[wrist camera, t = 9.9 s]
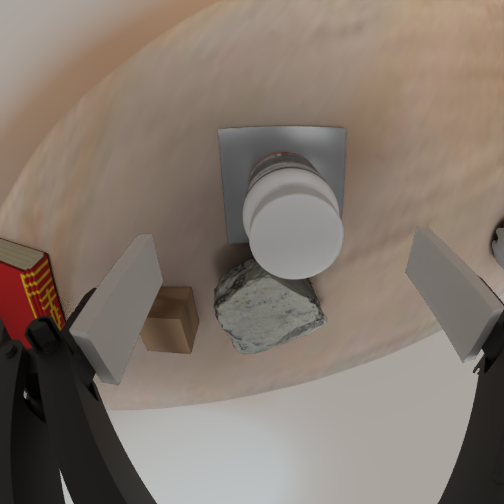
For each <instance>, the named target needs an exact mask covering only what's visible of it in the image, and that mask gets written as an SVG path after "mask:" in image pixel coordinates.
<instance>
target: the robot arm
mask: <svg viewBox="0 0 504 504" xmlns="http://www.w3.org/2000/svg"><path fill="white" fill-rule="evenodd" d="M405 273H406V274H407V275H408V277H409V278H410V279H411V281H412V282H413V284H414V285H415V287H416V288H417V289H418V291H419V292H420V294H421V295H422V297H423V298H424V300H425V301H426V303H427V304H428V306H429V307H430V309H431V310H432V312H433V314H434V315H435V317H436V318H437V320H438V321H439V323H440V325H441V326H442V328H443V330H444V331H445V333H446V335H447V336H448V338H449V340H450V341H451V343H452V345H453V347H454V348H455V350H456V352H457V354H458V355H459V357H460V359H461V361H462V362H463V363H464V362H467V361H470V360H473V359H475V358H476V356H477V355H478V353H479V352H480V350H481V349H482V350H483V351H484V353H485V354H484V355H483V357H482V358H481V360H480V361H479V363H478V364H477V365H476V367H475V368H474V370H473V373H475V372H476V370H477V369H478V368H480V370H479V372H478V373H477V374H478V375H479V377H478V383H477V389H476V394H475V399H474V403H473V408H472V412H471V416H470V420H469V424H468V427H467V431H466V434H465V438H464V441H463V444H462V447H461V450H460V453H459V456H458V459H457V462H456V464H455V467H454V469H453V472H452V474H451V477H450V479H449V481H448V484H447V486H446V488H445V490H444V493H443V495H442V497H441V499H440V501H439V503H438V504H504V304H503V302H502V301H501V300H500V299H499V298H498V296H497V295H496V294H495V293H494V292H492V291H493V290H492V289H491V288H490V287H489V286H488V285H487V284H486V283H485V281H484V280H483V279H482V278H481V277H479V276H478V275H476V274H475V272H474V271H473V270H472V269H471V268H470V267H469V266H468V265H467V264H466V263H465V262H464V261H463V260H462V259H461V258H460V257H459V256H458V255H457V254H456V253H455V252H454V251H453V250H452V249H451V248H450V247H449V246H448V245H447V244H446V243H445V242H444V241H443V240H442V239H440V238H439V237H438V236H437V235H436V234H435V233H434V232H433V231H432V230H431V229H429V228H428V227H416V230H415V235H414V239H413V244H412V248H411V252H410V256H409V260H408V264H407V268H406V272H405ZM162 283H163V279H162V275H161V271H160V267H159V263H158V259H157V255H156V251H155V246H154V242H153V237H152V234H144V235H137V237H136V238H135V239H134V240H133V242H132V243H131V244H130V245H129V247H128V248H127V249H126V250H125V252H124V253H123V254H122V255H121V257H120V258H119V259H118V261H117V262H116V263H115V265H114V266H113V267H112V269H111V270H110V271H109V273H108V274H107V275H106V277H105V278H104V279H103V281H102V282H101V284H100V285H99V286H98V288H93V289H92V290H91V291H89V292H88V293H87V294H86V295H85V296H84V297H83V298H82V300H81V301H80V303H79V305H78V306H77V307H76V308H75V312H74V311H73V313H72V314H71V316H70V317H69V319H68V320H67V322H66V323H65V325H64V326H63V328H62V329H61V331H60V330H59V328H58V326H57V324H56V323H55V321H54V319H53V317H51V316H46V315H44V316H41V317H38V318H36V319H34V320H33V321H32V322H31V323H30V324H29V325H28V326H27V328H26V329H25V333H24V336H25V337H26V339H27V340H28V342H29V343H30V345H31V346H32V348H28V349H26V348H25V346H24V345H23V344H22V342H21V341H20V340H18V339H13V340H12V339H11V337H10V336H9V334H8V332H7V330H6V328H5V326H4V323H3V321H2V319H1V317H0V504H65V500H64V495H63V490H62V483H61V477H60V471H61V473H62V476H63V478H64V481H65V484H66V487H67V489H68V491H69V494H70V496H71V498H72V501H73V503H74V504H157V503H156V502H155V500H154V499H153V497H152V496H151V494H150V493H149V491H148V490H147V488H146V487H145V485H144V483H143V482H142V480H141V478H140V477H139V475H138V473H137V472H136V470H135V468H134V466H133V465H132V463H131V461H130V459H129V458H128V455H127V454H126V452H125V450H124V448H123V446H122V444H121V442H120V440H119V438H118V436H117V434H116V432H115V430H114V428H113V425H112V423H111V421H110V419H109V416H108V414H107V412H106V409H105V407H104V405H103V402H102V400H101V397H100V394H99V392H98V389H97V387H96V384H95V383H94V381H93V378H94V375H95V373H96V374H97V375H98V377H99V378H100V379H101V381H102V382H105V383H110V384H115V385H119V384H120V381H121V379H122V376H123V373H124V371H125V368H126V366H127V363H128V361H129V358H130V356H131V353H132V351H133V348H134V346H135V344H136V341H137V339H138V336H139V334H140V332H141V329H142V327H143V325H144V322H145V320H146V318H147V316H148V313H149V311H150V309H151V307H152V304H153V302H154V300H155V298H156V296H157V293H158V291H159V289H160V287H161V285H162ZM24 391H25V392H26V393H27V397H26V399H25V398H24V395H23V394H24ZM59 468H60V469H59Z"/></svg>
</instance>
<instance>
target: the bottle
mask: <svg viewBox="0 0 504 504" xmlns="http://www.w3.org/2000/svg"><path fill="white" fill-rule="evenodd" d="M503 225H504V223H503ZM496 234H497V235H498V240H497V241H496V240H494V241H493V242H492V248H493V251H494V257H495V259H496V261H497V262H498V263H499V265H500V266H501V267H502V268H503V269H504V228H497V230H496Z"/></svg>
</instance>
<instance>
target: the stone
mask: <svg viewBox="0 0 504 504" xmlns="http://www.w3.org/2000/svg"><path fill="white" fill-rule="evenodd" d="M214 290H215V291H214V292H215V297H214V300H215V303H214V308H215V315H216V318H217V320H218V321H219V322H220V323H221V325H222V328H223V329H224V330H225V331H226V332H227V334H228V336H230V338H231V340H232V343H233V346H234V348H235V349H236V350H237V351H238V352H239V353H243V354H252V353H258V352H262V351H265V350H268V349H270V348H272V347H274V346H277V345H279V344H284V343H287V342H289V341H291V340H293V339H295V338H298V337H300V336H306V335H308V334H310V333H312V332H313V331H315V330H317V329H318V328H320V327H322V326H323V325H325V323H327V320H328V319H327V317H326V316H325V315H324V314H323V312H322V310H321V308H320V303H319V301H318V299H317V297H316V295H315V293H314V290H313V288H312V286H311V283H310V282H309V281H308V280H307V279H306V278H304V279H284V278H281V277H278V276H275V275H273V274H271V273H269V272H268V271H266V270H265V269H264V268H262V267H261V266H260V265H259V263H258V262H257V261H256V259H255V258H252V259H249V260H247V261H245V262H243V263H242V264H240V265H237V266H234V267H233V268H232V269H230V270H229V272H228V273H227V274H225V275H224V276H223V277H222V278H221V279H220V280H219V282H218V285H217V287H216V288H215V289H214Z"/></svg>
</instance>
